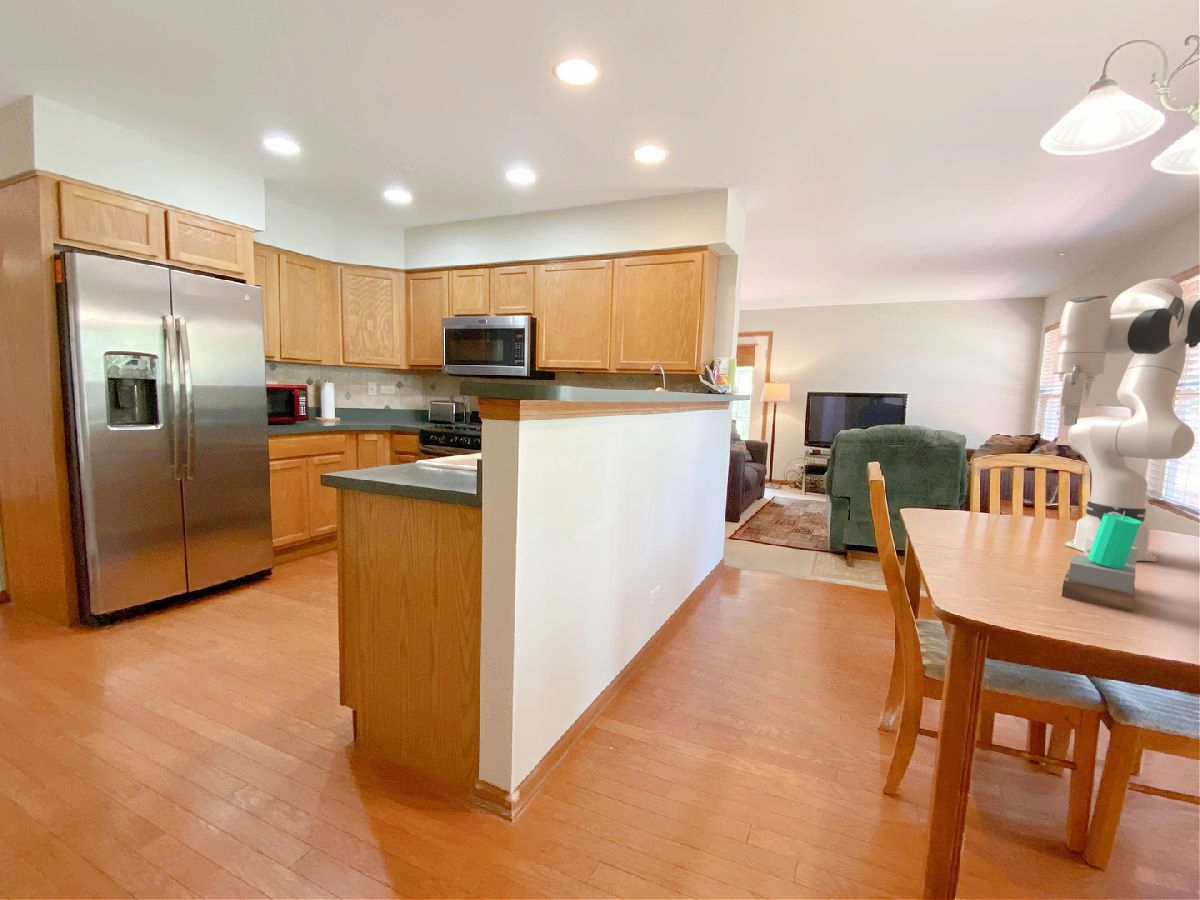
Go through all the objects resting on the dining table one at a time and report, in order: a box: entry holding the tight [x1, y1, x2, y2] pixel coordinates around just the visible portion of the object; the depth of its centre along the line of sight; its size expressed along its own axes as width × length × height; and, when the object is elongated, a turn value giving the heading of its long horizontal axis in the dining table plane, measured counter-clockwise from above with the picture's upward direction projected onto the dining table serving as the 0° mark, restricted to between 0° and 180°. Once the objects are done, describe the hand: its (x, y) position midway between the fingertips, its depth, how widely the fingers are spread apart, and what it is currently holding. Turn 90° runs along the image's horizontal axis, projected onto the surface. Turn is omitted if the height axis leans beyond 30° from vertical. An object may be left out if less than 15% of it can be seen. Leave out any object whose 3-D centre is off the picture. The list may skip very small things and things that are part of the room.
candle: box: [1088, 511, 1141, 569], centre depth 113 cm, size 6×6×12 cm
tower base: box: [1061, 569, 1136, 613], centre depth 116 cm, size 11×11×4 cm
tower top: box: [1068, 553, 1136, 594], centre depth 115 cm, size 10×10×4 cm
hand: (1070, 425), depth 125 cm, fingers open, 8 cm apart
